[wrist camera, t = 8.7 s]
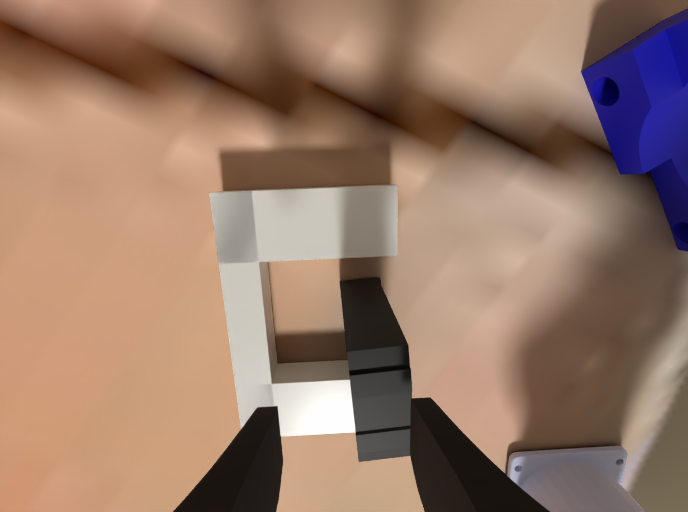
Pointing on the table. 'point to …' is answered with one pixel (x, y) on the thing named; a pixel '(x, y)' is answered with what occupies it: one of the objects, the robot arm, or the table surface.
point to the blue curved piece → (649, 112)
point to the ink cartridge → (376, 371)
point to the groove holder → (255, 296)
